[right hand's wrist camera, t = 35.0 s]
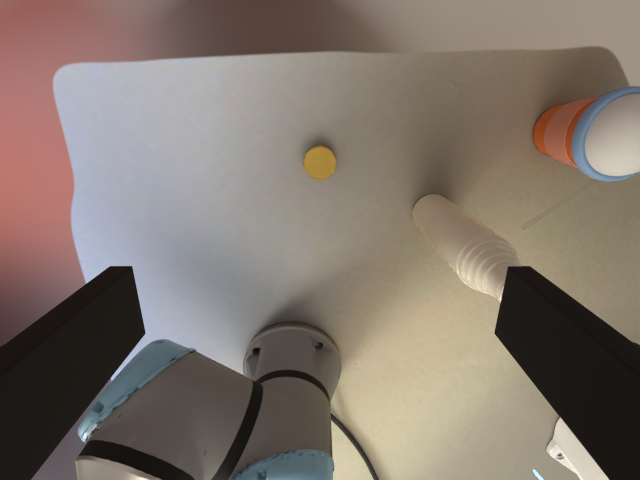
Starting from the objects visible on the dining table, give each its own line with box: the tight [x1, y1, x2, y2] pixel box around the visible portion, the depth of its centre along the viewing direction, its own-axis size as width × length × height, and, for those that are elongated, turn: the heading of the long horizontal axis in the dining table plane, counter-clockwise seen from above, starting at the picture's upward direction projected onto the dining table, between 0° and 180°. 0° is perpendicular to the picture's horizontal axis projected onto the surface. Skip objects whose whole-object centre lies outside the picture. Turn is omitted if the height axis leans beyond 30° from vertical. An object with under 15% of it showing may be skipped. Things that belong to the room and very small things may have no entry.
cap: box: [303, 145, 336, 180], centre depth 45 cm, size 4×4×2 cm
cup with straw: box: [533, 87, 640, 181], centre depth 36 cm, size 9×9×18 cm
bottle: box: [412, 194, 521, 304], centre depth 38 cm, size 5×5×23 cm
